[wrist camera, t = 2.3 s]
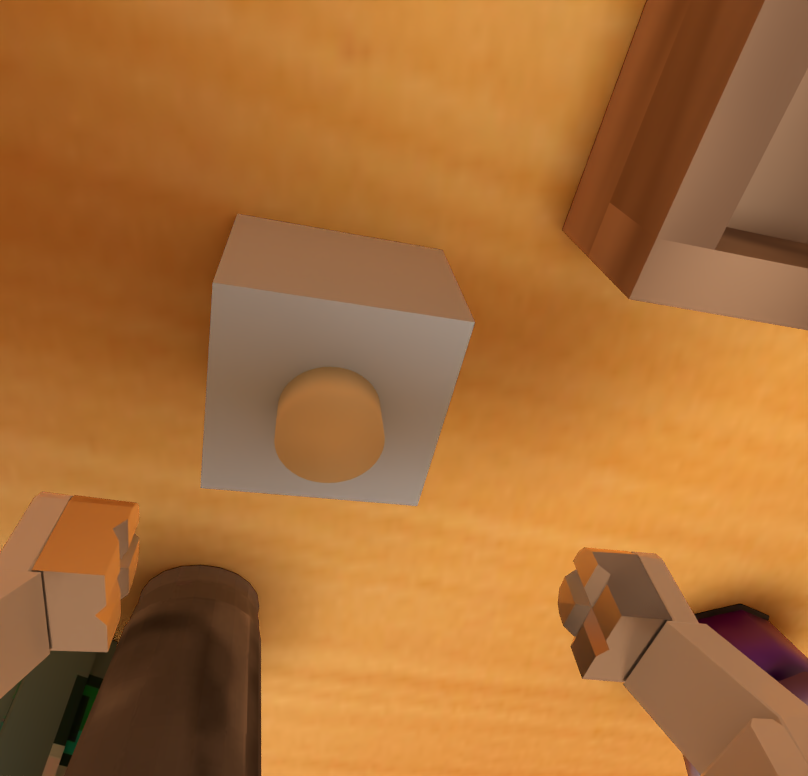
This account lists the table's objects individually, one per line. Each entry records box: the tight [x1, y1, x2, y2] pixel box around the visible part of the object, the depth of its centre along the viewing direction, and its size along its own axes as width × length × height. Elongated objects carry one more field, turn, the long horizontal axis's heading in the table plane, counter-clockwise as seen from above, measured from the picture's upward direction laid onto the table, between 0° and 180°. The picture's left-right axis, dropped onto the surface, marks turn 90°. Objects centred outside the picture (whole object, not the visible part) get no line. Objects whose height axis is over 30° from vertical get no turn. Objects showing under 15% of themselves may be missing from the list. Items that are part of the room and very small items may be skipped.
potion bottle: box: [683, 604, 808, 776], centre depth 25 cm, size 9×9×12 cm
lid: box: [201, 214, 475, 506], centre depth 16 cm, size 6×6×6 cm
